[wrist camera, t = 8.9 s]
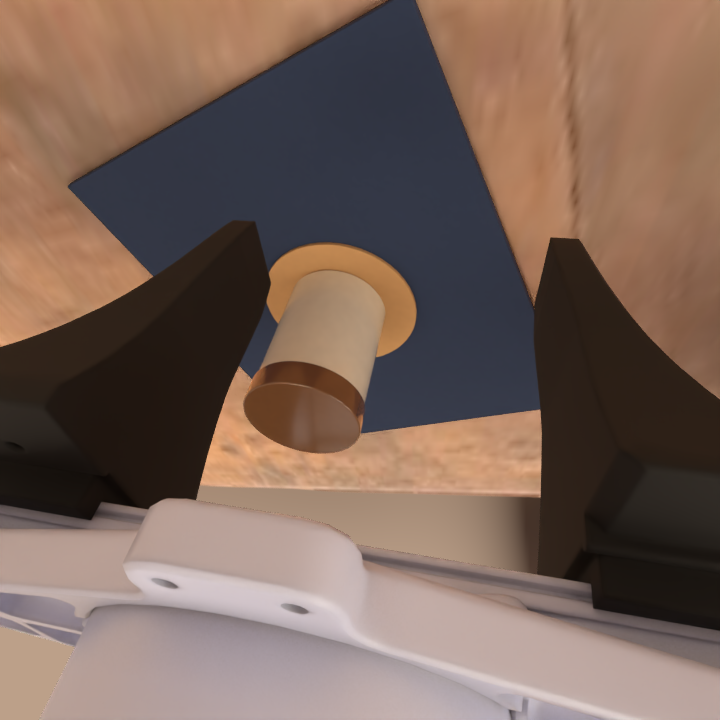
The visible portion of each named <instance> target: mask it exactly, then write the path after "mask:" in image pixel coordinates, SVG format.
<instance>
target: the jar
mask: <svg viewBox="0 0 720 720" xmlns="http://www.w3.org/2000/svg"><path fill="white" fill-rule="evenodd" d="M384 321H385V307H384V304H383V301H382V299H381V297H380V296H379V294H378V293H377V292H376V291H375V290H374V288H373V287H371V286H370V285H369V284H368V283H366V282H365V281H364V280H362V279H360V278H358V277H356V276H354V275H352V274H349V273H345V272H341V271H334V270H323V271H317V272H313V273H310V274H308V275H306V276H304V277H303V278H301V279H300V280H299V281H298V282H297V283H296V284H295V286H294V288H293V290H292V292H291V295H290V297H289V299H288V302H287V304H286V307H285V309H284V311H283V314H282V316H281V319H280V321H279V323H278V326H277V328H276V330H275V333H274V335H273V338H272V340H271V342H270V345H269V347H268V349H267V352H266V354H265V357H264V359H263V361H262V364H261V366H260V369H259V371H258V372H257V373H256V374H255V375H254V377H253V379H252V382H251V384H250V386H249V389H248V391H247V393H246V396H245V398H244V403H243V407H244V412H245V415H246V417H247V418H248V420H249V421H250V423H251V424H252V425H253V426H254V427H255V428H256V429H257V430H258V431H259V432H260V433H262V434H263V435H265V436H266V437H268V438H269V439H271V440H273V441H275V442H277V443H279V444H281V445H283V446H286V447H289V448H292V449H295V450H299V451H304V452H310V453H334V452H339V451H343V450H345V449H347V448H349V447H351V446H352V445H353V444H355V443H356V441H357V440H358V438H359V436H360V433H361V428H362V424H363V420H364V416H365V401H366V397H367V393H368V389H369V385H370V380H371V376H372V372H373V368H374V363H375V359H376V355H377V351H378V346H379V342H380V338H381V334H382V330H383V325H384Z"/></svg>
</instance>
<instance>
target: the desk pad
mask: <svg viewBox="0 0 720 720" xmlns="http://www.w3.org/2000/svg"><path fill="white" fill-rule="evenodd" d="M68 188H69V189H70V190H71V191H72V192H73V193H74V194H75V195H76V196H77V197H78V198H79V199H80V200H81V201H82V202H83V204H84V205H85V206H86V207H87V208H88V209H89V210H90V211H91V212H92V213H93V214H94V215H95V216H96V217H97V218H98V219H99V220H100V221H101V222H102V223H103V224H104V225H105V226H106V227H107V229H108V230H109V231H110V232H111V233H112V234H113V235H114V236H115V237H116V238H117V239H118V240H119V241H120V242H121V243H122V244H123V245H124V246H125V247H126V248H127V249H128V250H129V251H130V252H131V254H132V255H133V256H134V257H135V258H136V259H137V260H138V261H139V262H140V263H141V264H142V265H143V266H144V267H145V268H146V269H147V270H148V271H149V272H150V273H151V274H152V275H153V276H155V275H157V274H158V273H160V272H161V271H163V270H164V269H166V268H167V267H169V266H170V265H172V264H173V263H175V262H176V261H177V260H179V259H180V258H181V257H183V256H184V255H185V254H187V253H188V252H189V251H191V250H192V249H194V248H195V247H196V246H198V245H199V244H200V243H202V242H203V241H204V240H206V239H207V238H208V237H210V236H211V235H212V234H214V233H215V232H216V231H218V230H219V229H220V228H222V227H223V226H225V225H226V224H228V223H229V222H231V221H232V220H240V221H255V222H256V226H257V230H258V234H259V238H260V242H261V246H262V249H263V253H264V257H265V261H266V265H267V269H268V273H269V277H270V281H271V286H270V290H269V294H268V297H267V301H266V304H265V307H264V311H263V314H262V317H261V319H260V321H259V324H258V326H257V328H256V330H255V332H254V335H253V337H252V339H251V341H250V343H249V345H248V348H247V350H246V352H245V354H244V356H243V358H242V360H241V363H240V365H239V366H240V367H241V368H242V369H243V370H244V371H245V372H246V373H247V374H248V375H249V376H250V377H251V379H253V377H254V375H255V374H256V373H257V372H258V371H259V369H260V366H261V364H262V361H263V359H264V357H265V354H266V352H267V349H268V347H269V345H270V342H271V340H272V338H273V335H274V333H275V330H276V328H277V326H278V323H279V321H280V319H281V316H282V314H283V311H284V309H285V307H286V304H287V302H288V299H289V297H290V295H291V292H292V290H293V288H294V286H295V284H296V283H297V282H298V281H299V280H300V279H301V278H303V277H304V276H306V275H308V274H310V273H313V272H317V271H323V270H334V271H341V272H345V273H349V274H352V275H354V276H356V277H358V278H360V279H362V280H364V281H365V282H366V283H368V284H369V285H370V286H371V287H373V288H374V290H375V291H376V292H377V293H378V294H379V296H380V297H381V299H382V301H383V304H384V307H385V321H384V325H383V330H382V334H381V338H380V342H379V346H378V351H377V355H376V359H375V363H374V368H373V372H372V376H371V380H370V385H369V389H368V393H367V397H366V401H365V416H364V420H363V424H362V428H361V433H368V432H376V431H383V430H390V429H398V428H405V427H413V426H420V425H427V424H435V423H442V422H450V421H457V420H464V419H472V418H479V417H487V416H494V415H502V414H509V413H516V412H524V411H531V410H539V409H540V401H539V391H538V381H537V371H536V361H535V351H534V307H533V305H532V302H531V300H530V297H529V294H528V292H527V289H526V287H525V284H524V281H523V279H522V276H521V274H520V271H519V268H518V266H517V263H516V261H515V258H514V255H513V253H512V250H511V248H510V245H509V242H508V240H507V237H506V235H505V232H504V229H503V227H502V224H501V222H500V219H499V216H498V214H497V211H496V209H495V206H494V203H493V201H492V198H491V196H490V193H489V190H488V188H487V185H486V183H485V180H484V177H483V175H482V172H481V170H480V167H479V164H478V162H477V159H476V157H475V154H474V151H473V149H472V146H471V144H470V141H469V138H468V136H467V133H466V131H465V128H464V125H463V123H462V120H461V118H460V115H459V112H458V110H457V107H456V105H455V102H454V99H453V97H452V94H451V92H450V89H449V86H448V84H447V81H446V79H445V76H444V73H443V71H442V68H441V66H440V63H439V60H438V58H437V55H436V53H435V50H434V47H433V45H432V42H431V40H430V37H429V34H428V32H427V29H426V27H425V24H424V21H423V19H422V16H421V14H420V11H419V8H418V6H417V3H416V1H415V0H388V1H387V2H385V3H383V4H381V5H380V6H378V7H376V8H374V9H373V10H371V11H369V12H367V13H366V14H364V15H362V16H360V17H359V18H357V19H355V20H353V21H352V22H350V23H348V24H346V25H345V26H343V27H341V28H340V29H338V30H336V31H334V32H333V33H331V34H329V35H327V36H326V37H324V38H322V39H320V40H319V41H317V42H315V43H313V44H312V45H310V46H308V47H306V48H305V49H303V50H301V51H299V52H298V53H296V54H294V55H293V56H291V57H289V58H287V59H286V60H284V61H282V62H280V63H279V64H277V65H275V66H273V67H272V68H270V69H268V70H266V71H265V72H263V73H261V74H259V75H258V76H256V77H254V78H252V79H251V80H249V81H247V82H246V83H244V84H242V85H240V86H239V87H237V88H235V89H233V90H232V91H230V92H228V93H226V94H225V95H223V96H221V97H219V98H218V99H216V100H214V101H212V102H211V103H209V104H207V105H206V106H204V107H202V108H200V109H199V110H197V111H195V112H193V113H192V114H190V115H188V116H186V117H185V118H183V119H181V120H179V121H178V122H176V123H174V124H172V125H171V126H169V127H167V128H165V129H164V130H162V131H160V132H159V133H157V134H155V135H153V136H152V137H150V138H148V139H146V140H145V141H143V142H141V143H139V144H138V145H136V146H134V147H132V148H131V149H129V150H127V151H125V152H124V153H122V154H120V155H118V156H117V157H115V158H113V159H112V160H110V161H108V162H106V163H105V164H103V165H101V166H99V167H98V168H96V169H94V170H92V171H91V172H89V173H87V174H85V175H84V176H82V177H80V178H78V179H77V180H75V181H73V182H71V183H70V184H69V185H68ZM361 433H360V434H361Z"/></svg>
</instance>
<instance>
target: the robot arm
mask: <svg viewBox="0 0 720 720" xmlns="http://www.w3.org/2000/svg"><path fill="white" fill-rule="evenodd" d="M270 286H271V281H270V277H269V273H268V269H267V265H266V261H265V257H264V253H263V249H262V246H261V242H260V238H259V234H258V230H257V226H256V222H255V221H240V220H232V221H231V222H229V223H228V224H226V225H225V226H223V227H222V228H220V229H219V230H218V231H216V232H215V233H214V234H212V235H211V236H210V237H208V238H207V239H206V240H204V241H203V242H202V243H200V244H199V245H198V246H196V247H195V248H194V249H192V250H191V251H189V252H188V253H187V254H185V255H184V256H183V257H181V258H180V259H179V260H177V261H176V262H175V263H173V264H172V265H170V266H169V267H167V268H166V269H164V270H163V271H161V272H160V273H158V274H157V275H155V276H154V277H152V278H151V279H150V280H148V281H147V282H145V283H144V284H142V285H140V286H139V287H137V288H135V289H134V290H132V291H130V292H129V293H127V294H125V295H123V296H122V297H120V298H118V299H116V300H114V301H113V302H111V303H109V304H107V305H105V306H103V307H101V308H99V309H97V310H95V311H93V312H90V313H88V314H86V315H84V316H82V317H80V318H77V319H75V320H73V321H71V322H69V323H67V324H64V325H62V326H59V327H57V328H54V329H52V330H49V331H47V332H44V333H41V334H39V335H36V336H33V337H30V338H28V339H25V340H22V341H19V342H16V343H13V344H9V345H6V346H3V347H0V627H4V628H8V629H11V630H15V631H19V632H22V633H26V634H29V635H33V636H37V637H40V638H44V639H48V640H51V641H55V642H58V643H62V644H66V645H69V646H73V647H75V648H74V650H73V652H72V654H71V656H70V658H69V660H68V662H67V664H66V666H65V668H64V670H63V672H62V674H61V676H60V678H59V680H58V682H57V684H56V686H55V688H54V690H53V692H52V695H51V696H50V699H49V701H48V702H47V704H46V707H45V708H44V710H43V712H42V715H41V717H40V719H39V720H720V399H718V398H717V397H716V396H715V395H713V394H712V393H711V392H709V391H708V390H707V389H705V388H704V387H703V386H702V385H700V384H699V383H698V382H697V381H696V380H695V379H693V378H692V377H691V376H690V375H689V374H687V373H686V372H685V371H684V370H683V369H681V368H680V367H679V366H678V365H677V364H676V363H675V362H674V361H673V360H671V359H670V358H669V357H668V356H667V355H666V354H665V353H664V352H663V351H662V350H661V349H660V348H659V347H658V346H657V345H656V344H655V343H654V342H653V341H652V340H651V339H650V338H649V337H648V335H647V334H646V333H645V332H644V331H643V330H642V329H641V328H640V326H639V325H638V324H637V323H636V321H635V320H634V319H633V318H632V317H631V315H630V314H629V313H628V312H627V310H626V309H625V308H624V306H623V305H622V304H621V302H620V301H619V300H618V298H617V297H616V295H615V294H614V293H613V291H612V290H611V288H610V287H609V286H608V284H607V283H606V281H605V280H604V278H603V277H602V275H601V273H600V272H599V270H598V269H597V267H596V266H595V264H594V262H593V261H592V259H591V257H590V256H589V254H588V252H587V251H586V249H585V247H584V246H583V244H582V243H581V241H580V240H579V239H568V238H550V243H549V247H548V251H547V255H546V259H545V263H544V268H543V272H542V276H541V280H540V284H539V288H538V292H537V297H536V301H535V310H534V351H535V361H536V371H537V381H538V391H539V401H540V410H541V424H542V466H541V507H540V530H539V552H538V571H537V575H536V574H530V573H523V572H518V571H512V570H506V569H500V568H494V567H487V566H482V565H476V564H470V563H464V562H458V561H451V560H446V559H440V558H433V557H428V556H422V555H416V554H410V553H404V552H398V551H392V550H386V549H380V548H374V547H368V546H362V545H357V544H355V543H354V542H353V541H352V539H351V538H350V537H349V536H348V535H347V534H345V533H343V532H341V531H339V530H338V529H336V528H334V527H332V526H330V525H328V524H325V523H321V522H317V521H314V520H310V519H306V518H302V517H296V516H290V515H284V514H277V513H271V512H265V511H259V510H253V509H247V508H241V507H234V506H228V505H222V504H216V503H210V502H203V501H197V500H196V498H197V493H198V489H199V485H200V481H201V478H202V474H203V470H204V466H205V462H206V458H207V455H208V451H209V448H210V445H211V441H212V438H213V434H214V431H215V428H216V424H217V421H218V418H219V415H220V412H221V409H222V406H223V403H224V400H225V397H226V394H227V392H228V389H229V387H230V384H231V382H232V380H233V377H234V375H235V373H236V371H237V369H238V367H239V365H240V363H241V360H242V358H243V356H244V354H245V352H246V350H247V348H248V345H249V343H250V341H251V339H252V337H253V335H254V332H255V330H256V328H257V326H258V324H259V321H260V319H261V317H262V314H263V311H264V307H265V304H266V301H267V297H268V294H269V290H270Z"/></svg>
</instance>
